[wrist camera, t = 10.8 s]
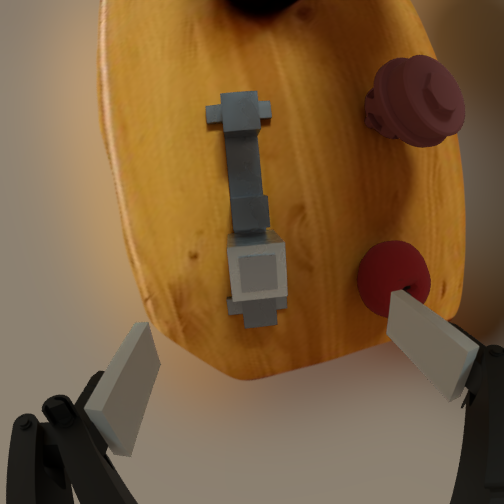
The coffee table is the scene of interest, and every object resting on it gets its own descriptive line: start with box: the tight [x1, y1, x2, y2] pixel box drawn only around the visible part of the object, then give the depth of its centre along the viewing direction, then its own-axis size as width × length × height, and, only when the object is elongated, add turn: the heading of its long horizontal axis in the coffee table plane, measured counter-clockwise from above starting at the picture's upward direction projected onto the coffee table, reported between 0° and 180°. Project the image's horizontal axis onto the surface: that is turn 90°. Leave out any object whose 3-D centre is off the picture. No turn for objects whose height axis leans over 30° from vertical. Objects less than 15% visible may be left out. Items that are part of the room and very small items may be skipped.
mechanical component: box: [365, 55, 465, 148], centre depth 23 cm, size 12×10×10 cm
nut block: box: [227, 230, 288, 302], centre depth 28 cm, size 5×5×7 cm
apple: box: [357, 241, 431, 318], centre depth 29 cm, size 9×9×10 cm
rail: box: [206, 91, 287, 328], centre depth 28 cm, size 24×7×4 cm, turn 5°
